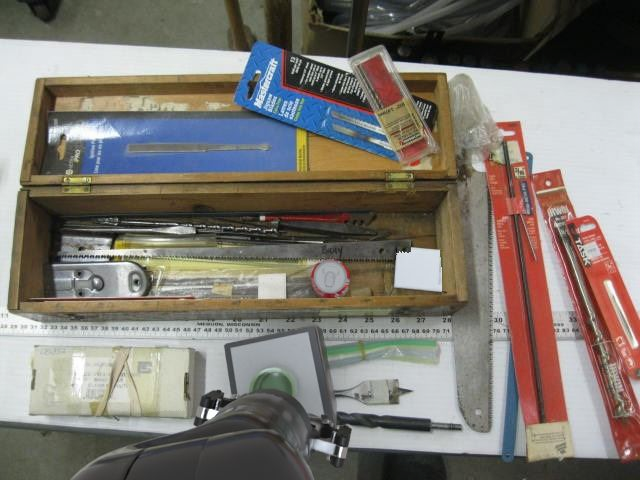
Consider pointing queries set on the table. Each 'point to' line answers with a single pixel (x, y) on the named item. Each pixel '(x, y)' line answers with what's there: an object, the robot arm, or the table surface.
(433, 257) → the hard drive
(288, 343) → the scale
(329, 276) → the soda can
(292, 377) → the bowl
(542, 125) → the table surface
